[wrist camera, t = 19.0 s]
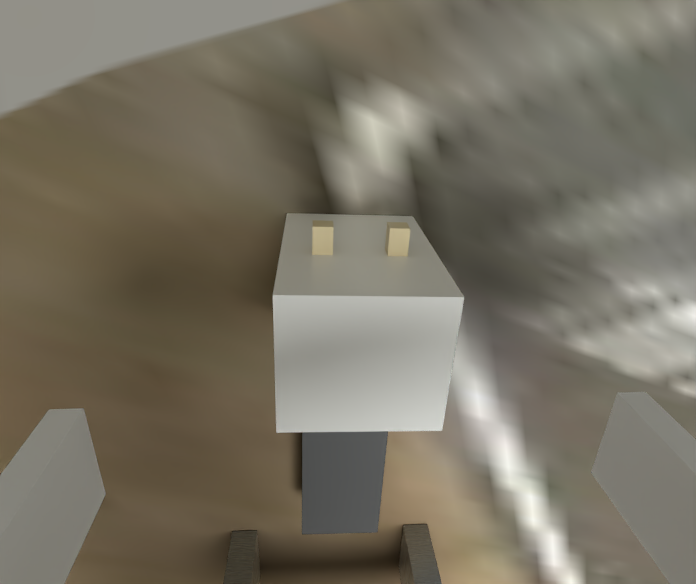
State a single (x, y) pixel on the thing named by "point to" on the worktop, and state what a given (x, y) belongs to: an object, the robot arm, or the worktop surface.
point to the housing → (413, 566)
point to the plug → (358, 354)
